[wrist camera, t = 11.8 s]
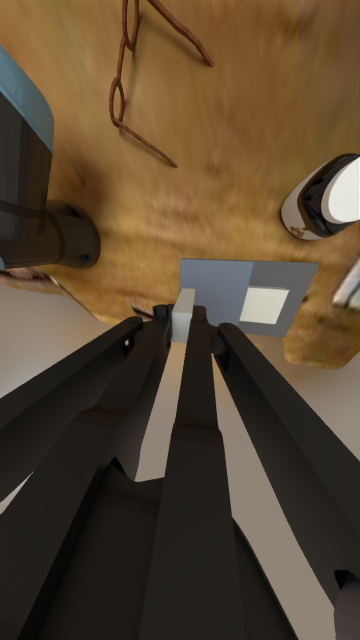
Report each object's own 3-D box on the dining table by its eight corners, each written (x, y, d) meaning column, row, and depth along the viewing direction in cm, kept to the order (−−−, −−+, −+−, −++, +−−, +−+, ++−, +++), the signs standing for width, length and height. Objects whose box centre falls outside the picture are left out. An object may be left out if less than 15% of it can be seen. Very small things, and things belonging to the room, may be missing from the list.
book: (180, 325, 44) (178, 332, 40) (183, 258, 35) (180, 259, 31) (232, 331, 42) (234, 338, 38) (249, 260, 32) (254, 261, 29)
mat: (233, 331, 42) (233, 332, 41) (250, 260, 32) (250, 260, 32) (284, 336, 40) (284, 337, 39) (318, 263, 30) (319, 263, 30)
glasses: (140, 11, 20) (122, -54, 16) (213, 65, 22) (215, 18, 17) (119, 133, 27) (102, 110, 22) (176, 171, 28) (171, 156, 23)
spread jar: (269, 211, 28) (306, 188, 18) (332, 145, 23) (435, 60, 13) (303, 253, 30) (353, 255, 20) (367, 202, 25) (478, 169, 15)
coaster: (237, 316, 39) (239, 320, 37) (245, 285, 35) (248, 287, 32) (271, 319, 38) (275, 324, 35) (283, 287, 33) (289, 290, 31)
